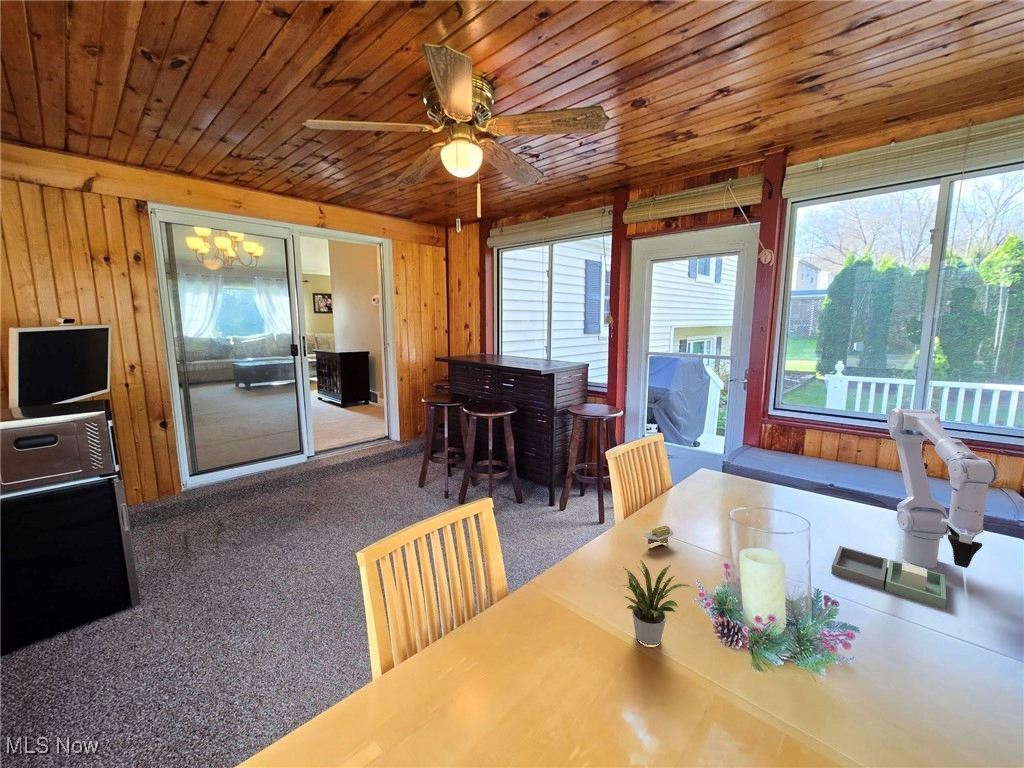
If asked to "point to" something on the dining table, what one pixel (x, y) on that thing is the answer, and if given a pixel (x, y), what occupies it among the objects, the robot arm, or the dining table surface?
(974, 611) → the dining table surface
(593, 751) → the dining table surface
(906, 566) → the stone block
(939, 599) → the tray
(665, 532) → the platform
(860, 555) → the tray
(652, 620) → the house plant
